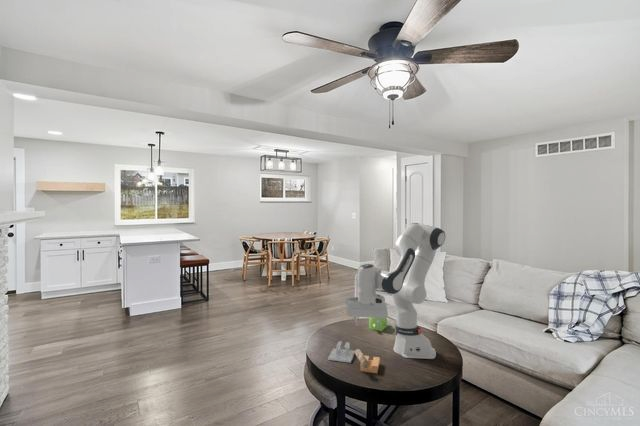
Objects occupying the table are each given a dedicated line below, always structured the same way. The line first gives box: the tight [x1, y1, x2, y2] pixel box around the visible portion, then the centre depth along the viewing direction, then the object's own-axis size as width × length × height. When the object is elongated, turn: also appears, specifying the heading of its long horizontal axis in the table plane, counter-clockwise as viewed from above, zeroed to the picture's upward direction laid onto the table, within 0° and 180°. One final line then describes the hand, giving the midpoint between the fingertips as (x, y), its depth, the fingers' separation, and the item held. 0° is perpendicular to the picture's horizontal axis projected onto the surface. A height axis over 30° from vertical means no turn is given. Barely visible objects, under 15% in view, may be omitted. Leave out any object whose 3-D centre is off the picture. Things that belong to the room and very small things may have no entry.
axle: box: [354, 348, 369, 368], centre depth 159 cm, size 14×3×3 cm
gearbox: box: [368, 317, 388, 332], centre depth 213 cm, size 18×10×10 cm, turn 149°
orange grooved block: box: [359, 355, 381, 374], centre depth 160 cm, size 8×10×4 cm
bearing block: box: [327, 340, 356, 364], centre depth 172 cm, size 12×12×6 cm
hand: (367, 325), depth 159 cm, fingers open, 8 cm apart
